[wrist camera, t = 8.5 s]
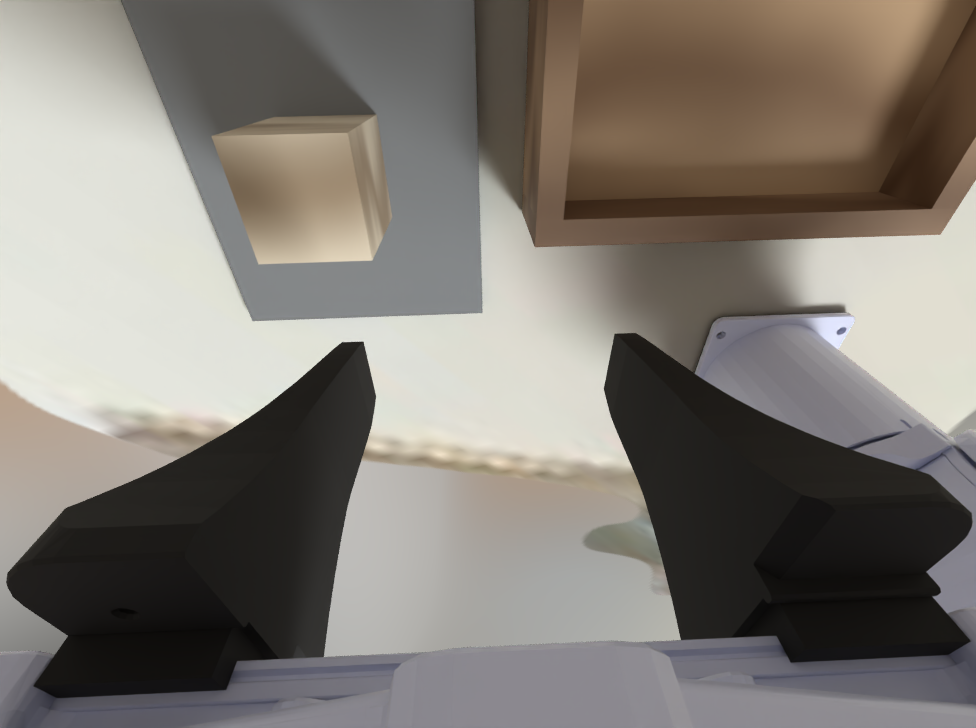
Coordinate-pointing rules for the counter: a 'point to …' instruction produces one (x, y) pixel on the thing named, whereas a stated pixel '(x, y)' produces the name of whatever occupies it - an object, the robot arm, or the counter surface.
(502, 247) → the counter surface
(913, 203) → the walnut crate
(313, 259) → the birch block
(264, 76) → the grey mat
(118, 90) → the counter surface
